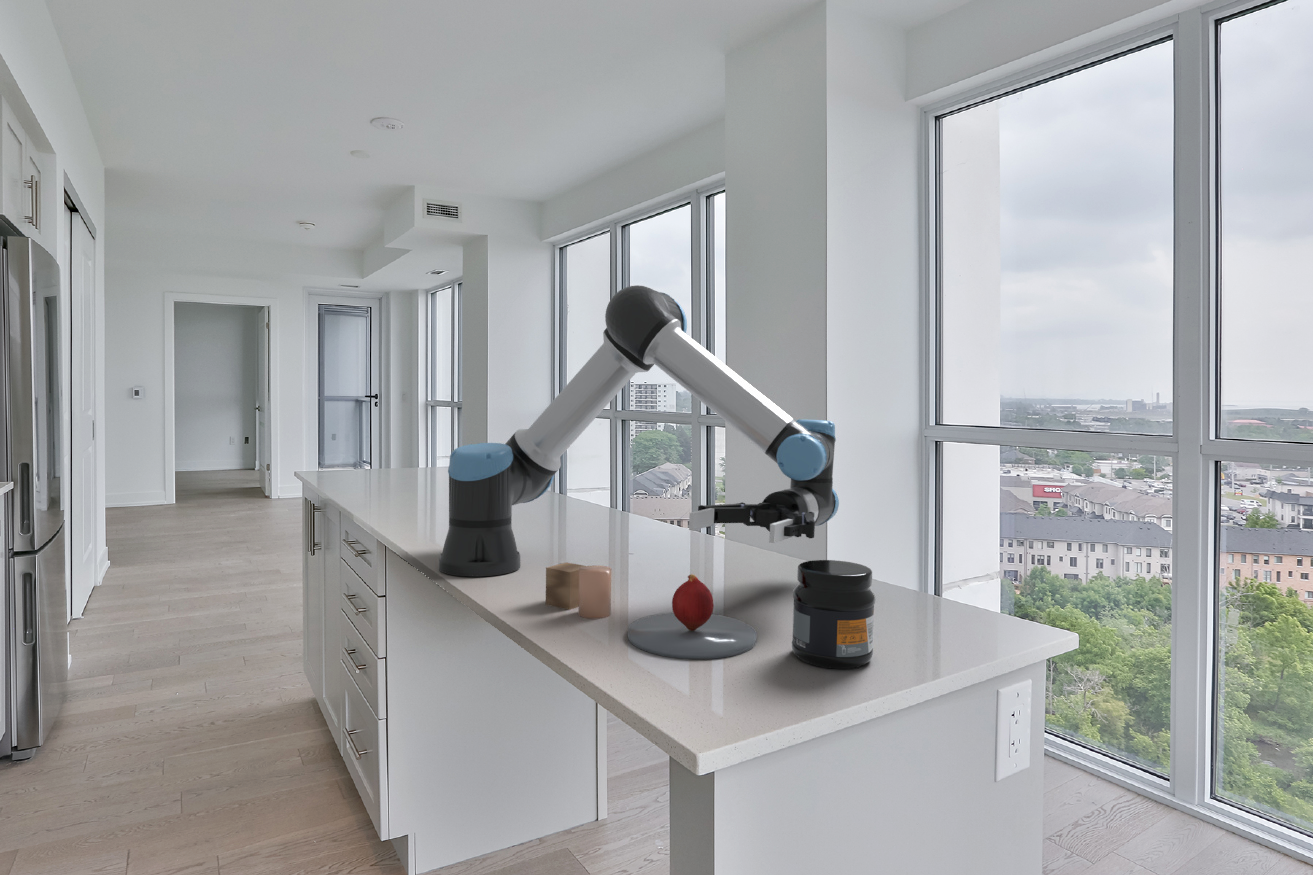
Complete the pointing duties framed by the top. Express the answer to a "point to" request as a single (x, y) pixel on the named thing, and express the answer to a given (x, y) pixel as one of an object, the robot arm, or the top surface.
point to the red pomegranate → (692, 603)
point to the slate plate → (692, 637)
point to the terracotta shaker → (594, 592)
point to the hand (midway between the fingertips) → (730, 527)
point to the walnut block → (563, 585)
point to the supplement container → (833, 614)
